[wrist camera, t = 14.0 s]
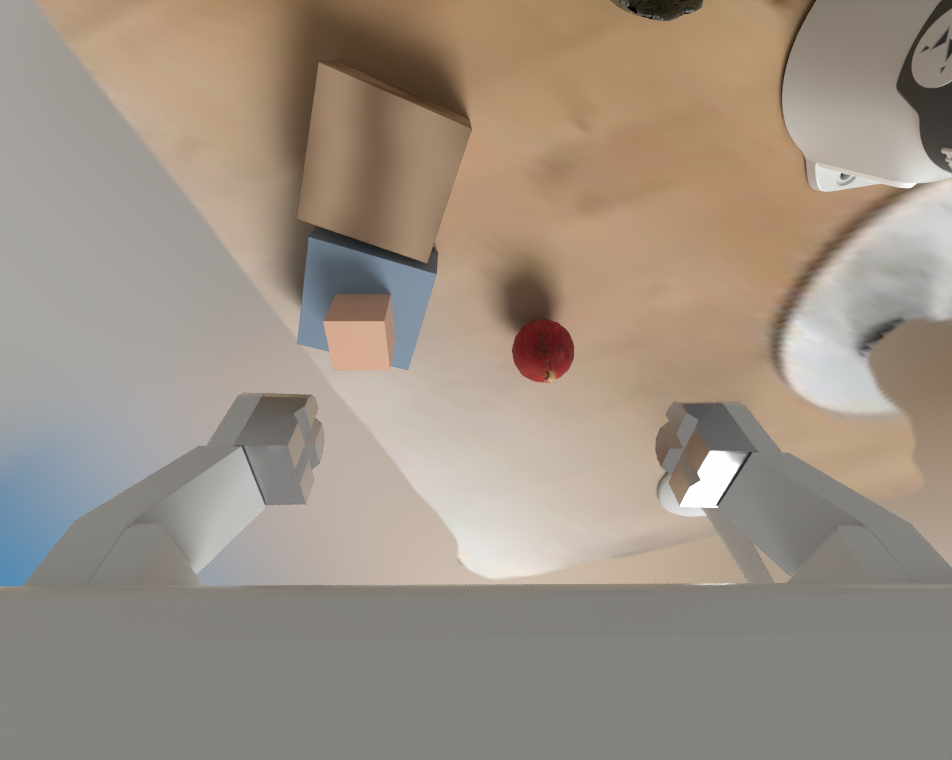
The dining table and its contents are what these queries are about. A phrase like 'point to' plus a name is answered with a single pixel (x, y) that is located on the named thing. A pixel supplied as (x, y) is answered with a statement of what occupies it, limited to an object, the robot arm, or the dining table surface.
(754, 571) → the candlestick
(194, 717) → the robot arm
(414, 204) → the walnut block
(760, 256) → the dining table surface
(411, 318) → the slate-blue block
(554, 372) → the onion
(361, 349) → the terracotta cube
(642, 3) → the cup
